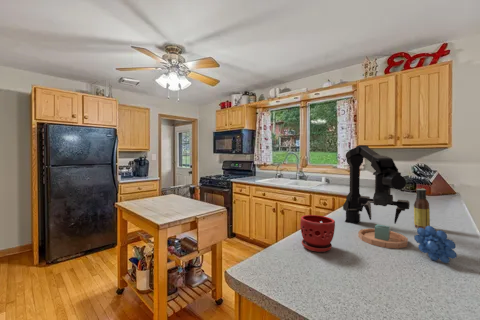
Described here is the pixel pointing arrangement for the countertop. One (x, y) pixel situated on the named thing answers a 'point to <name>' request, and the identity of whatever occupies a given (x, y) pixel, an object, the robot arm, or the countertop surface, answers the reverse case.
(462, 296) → the countertop surface
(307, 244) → the plant pot
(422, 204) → the sauce bottle
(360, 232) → the dish
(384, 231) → the block
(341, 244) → the countertop surface
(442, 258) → the grapes
